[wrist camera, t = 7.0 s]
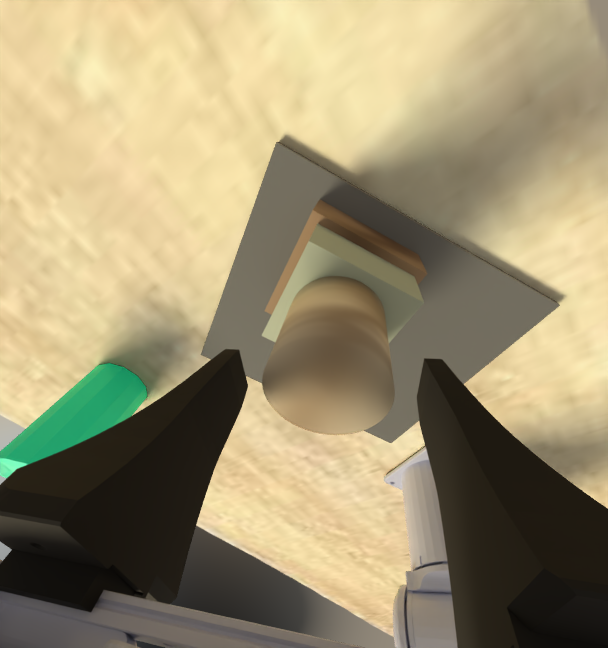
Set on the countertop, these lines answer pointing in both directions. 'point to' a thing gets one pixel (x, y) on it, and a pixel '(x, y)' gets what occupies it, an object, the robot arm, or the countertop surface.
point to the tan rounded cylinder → (332, 359)
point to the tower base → (355, 234)
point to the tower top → (354, 262)
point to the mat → (436, 287)
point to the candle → (77, 416)
